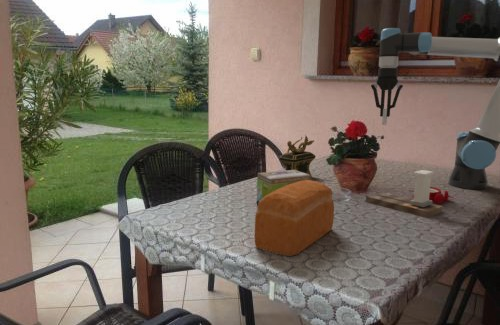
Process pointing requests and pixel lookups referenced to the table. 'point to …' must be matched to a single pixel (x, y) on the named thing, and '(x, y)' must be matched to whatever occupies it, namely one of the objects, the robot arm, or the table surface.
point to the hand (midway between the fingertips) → (384, 124)
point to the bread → (294, 217)
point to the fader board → (403, 204)
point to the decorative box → (298, 157)
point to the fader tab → (422, 188)
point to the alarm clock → (437, 195)
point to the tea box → (277, 181)
